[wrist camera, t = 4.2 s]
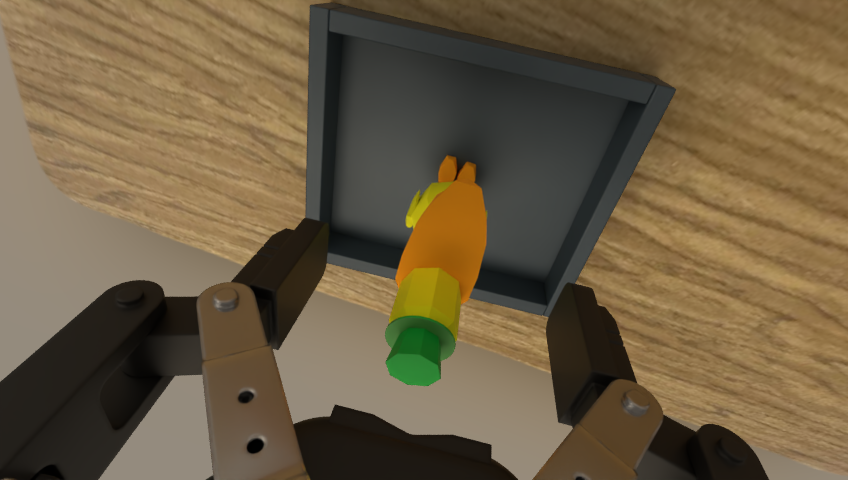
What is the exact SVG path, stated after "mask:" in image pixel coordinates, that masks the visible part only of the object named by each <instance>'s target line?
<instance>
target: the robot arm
mask: <svg viewBox="0 0 848 480" xmlns="http://www.w3.org/2000/svg"><path fill="white" fill-rule="evenodd" d="M328 236H329V225H328V223H326V222H322V221H318V220H313V219H309V218H304V219H303V220H302V221H301V223H300V224H299V225H298V226H297V228H296V229H295V230H291V229H287V228H286V229H284V230H282V231H280V232H278V233H276V234H274V235H272V236H271V238H270V239H269V240H268V241H267V242H266V243H265V244H264V247H263V246H262V248H261V249H260V250H259V251H258V252H257V255H256V254H255V255H254V256H253V258H252V259H251V260H250V261H249V262H248V263H247V264H246V265H245V267H244V268H243V269H242V270H241V271H240V272H239V273H238V275H236V277H235V278H234V279H233V280H232V281H231V282H226V283H220V284H217V285H214V286H211V287H209V288H208V289H206V290H205V291H204V292H202V293H201V294H200V295H199V296H198V297H165V295H164V291H163V289H162V288H161V286H160V285H158V284H157V283H154V282H151V281H145V280H136V281H129V282H125V283H121V284H119V285H116V286H114V287H112V288H110V289H108V290H107V291H106V292H104V293H103V294H102V295H101V296H100V297H98V298H97V299H96V300H95V301H94V302H93V303H91V304H90V305H89V306H88V307H87V308H86V309H84V310H83V311H82V312H81V313H80V314H79V315H77V317H75V318H74V319H73V320H72V321H71V322H69V323H68V324H67V325H66V326H65V327H64V328H62V329H61V330H60V331H59V332H58V333H57V334H55V335H54V336H53V337H52V338H51V339H50V340H48V341H47V342H46V343H45V344H44V345H43V346H41V347H40V348H39V349H38V350H37V351H36V352H35V353H33V354H32V355H31V356H30V357H29V358H28V359H26V361H24V362H23V363H22V364H21V365H20V366H18V367H17V368H16V369H15V370H14V371H12V372H11V373H10V374H9V375H8V376H7V377H6V378H4V379H3V380H2V381H1V382H0V480H98V479H99V478H100V476H101V475H102V474H103V472H104V471H105V470H106V468H107V467H108V466H109V464H110V463H111V462H112V460H113V459H114V458H115V456H116V455H117V453H118V452H119V451H120V449H121V448H122V447H123V445H124V444H125V443H126V441H127V440H128V439H129V437H130V436H131V435H132V433H133V432H134V430H135V429H136V428H137V426H138V425H139V424H140V422H141V421H142V420H143V418H144V417H145V416H146V414H147V413H148V411H149V410H150V409H151V407H152V406H153V405H154V403H155V402H156V401H157V399H158V398H159V397H160V395H161V394H162V393H163V391H164V390H165V389H166V387H167V386H168V384H169V383H170V382H171V380H172V379H173V378H174V376H179V375H203V384H204V393H205V403H206V412H207V421H208V430H209V440H210V449H211V459H212V467H213V476H211V477H209V478H208V479H206V480H518V479H517V478H516V477H515V476H514V475H513V474H512V473H511V472H510V471H509V470H508V469H506V468H505V467H504V466H502V465H501V464H500V463H498V462H496V461H495V460H493V459H491V445H490V444H486V443H482V442H479V441H475V440H471V439H467V438H463V437H459V436H455V435H412V434H409V433H406V432H405V431H403V430H401V429H399V428H397V427H395V426H394V425H392V424H390V423H388V422H386V421H384V420H383V419H381V418H379V417H377V416H375V415H373V414H370V413H366V412H362V411H358V410H354V409H350V408H346V407H343V406H338V405H335V406H334V408H333V411H332V414H331V416H330V417H318V418H312V419H308V420H303V421H301V422H298V423H295V424H293V422H292V419H291V415H290V411H289V407H288V404H287V400H286V397H285V393H284V389H283V385H282V382H281V378H280V374H279V371H278V367H277V363H276V360H275V356H274V352H273V349H276V350H279V348H280V346H281V345H282V343H283V341H284V340H285V338H286V336H287V335H288V333H289V331H290V330H291V328H292V326H293V325H294V323H295V321H296V320H297V318H298V316H299V315H300V313H301V311H302V310H303V308H304V306H305V305H306V303H307V301H308V299H309V298H310V296H311V295H312V293H313V291H314V290H315V288H316V286H317V285H318V283H319V281H320V280H321V278H322V276H323V274H324V271H325V268H326V264H327V253H328ZM619 334H620V332H619V329H618V327H617V324H616V321H615V319H614V318H613V317H612V315H611V314H610V313H609V312H608V310H607V309H606V308H605V307H603V306H599V305H598V304H597V301H596V297H595V294H594V291H593V289H592V288H590V287H586V286H582V285H577V284H573V283H569V282H568V283H566V284H565V286H564V288H563V289H562V291H561V293H560V295H559V297H558V299H557V301H556V303H555V305H554V307H553V309H552V311H551V313H550V315H549V318H548V321H547V326H546V336H547V344H548V351H549V358H550V366H551V373H552V380H553V387H554V395H555V402H556V409H557V417H558V422H559V423H563V424H567V425H571V426H572V427H573V429H572V431H571V432H570V433H569V434H568V436H567V437H566V438H565V439H564V441H563V442H562V443H561V444H560V446H559V447H558V448H557V449H556V451H555V452H554V453H553V454H552V456H551V457H550V458H549V459H548V461H547V462H546V463H545V464H544V466H543V467H542V468H541V469H540V471H539V472H538V473H537V475H536V476H535V477H534V478H533V480H769V479H768V477H767V475H766V473H765V471H764V469H763V467H762V465H761V463H760V461H759V459H758V457H757V455H756V454H755V453H754V451H753V450H752V449H751V448H750V446H749V445H748V444H747V443H746V442H745V441H744V440H742V439H741V438H740V437H739V436H737V435H736V434H735V433H733V432H732V431H730V430H728V429H726V428H724V427H722V426H719V425H715V424H705V425H703V426H702V427H701V428H700V429H699V430H697V431H696V432H695V431H693V430H691V429H689V428H687V427H686V426H683V425H682V424H680V423H678V422H676V421H674V420H672V419H670V418H668V417H667V416H665V415H663V411H662V408H661V406H660V404H659V403H658V401H657V400H656V399H655V397H654V396H653V395H652V394H651V393H650V392H649V391H648V390H646V389H645V388H644V387H642V386H641V385H639V384H637V381H636V378H635V375H634V372H633V370H632V367H631V364H630V361H629V358H628V355H627V352H626V350H625V347H624V346H623V341H622V338H621V336H620V335H619Z"/></svg>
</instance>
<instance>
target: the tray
mask: <svg viewBox="0 0 848 480" xmlns="http://www.w3.org/2000/svg"><path fill="white" fill-rule="evenodd" d="M675 91H676V89H675V88H674V87H672V86H670V85H669V84H667V83H665V82H664V81H662V80H660V79H659V78H657V77H655V76H650V75H646V74H642V73H637V72H633V71H629V70H624V69H620V68H615V67H611V66H607V65H602V64H598V63H594V62H589V61H585V60H580V59H576V58H572V57H567V56H563V55H559V54H554V53H550V52H545V51H541V50H537V49H532V48H528V47H524V46H519V45H515V44H511V43H506V42H502V41H497V40H493V39H489V38H484V37H480V36H476V35H471V34H467V33H462V32H458V31H454V30H449V29H445V28H441V27H436V26H432V25H427V24H423V23H419V22H414V21H410V20H406V19H401V18H397V17H392V16H388V15H384V14H379V13H375V12H371V11H366V10H362V9H357V8H353V7H349V6H344V5H340V4H336V3H323V4H314V5H310V27H309V75H308V123H307V171H306V218H309V219H313V220H318V221H322V222H326V223H328V225H329V236H328V253H327V263H329V264H333V265H337V266H341V267H345V268H349V269H353V270H357V271H361V272H365V273H369V274H373V275H378V276H382V277H386V278H390V279H394V280H395V277H396V274H397V270H398V267H399V263H400V260H401V256H402V254H403V251H404V249H405V247H406V245H407V243H408V241H409V238H410V236H411V234H412V232H413V225H412V227H410V228H408V227H407V226H406V222H405V220H406V215H407V213H408V210H409V208H410V205H411V203H412V200H413V198H414V197H415V195H416V194H417V192H418V191H419V190H420V196H421V195H422V194H423V193H424V192H425V190H426V189H427V188H428V187H429V186H430V185H431V183H438V173H439V169H440V165H441V163H442V162H443V160H444V159H445V158H446V156H447V155H449V156H453V157H456V161H457V173H456V176H455V179H454V181H455V180H457V176H458V173H459V170H460V169H461V168H462V167H463V166H464V165H465V163H466V162H467V161H468V162H471V163H474V164H476V178H475V182H474V183H475V184H477V185H478V186H479V187H480V188H482V194H483V200H484V206H485V212H486V211H487V234H486V247H485V251H484V255H483V259H482V263H481V266H480V270H479V274H478V278H477V280H476V283H475V285H474V287H473V290H472V292H471V294H470V297H469V298H472V299H476V300H480V301H484V302H488V303H492V304H496V305H500V306H504V307H508V308H512V309H516V310H521V311H525V312H529V313H533V314H537V315H541V316H542V315H543V316H546V317H549V315H550V313H551V311H552V309H553V307H554V305H555V303H556V301H557V299H558V297H559V295H560V293H561V291H562V289H563V288H564V286H565V284H566V283H568V282H569V283H573V284H575V282H576V280H577V278H578V277H579V275H580V273H581V271H582V269H583V267H584V265H585V263H586V261H587V259H588V257H589V255H590V254H591V252H592V250H593V248H594V246H595V244H596V242H597V240H598V238H599V236H600V234H601V233H602V231H603V229H604V227H605V225H606V223H607V221H608V219H609V217H610V215H611V213H612V212H613V210H614V208H615V206H616V204H617V202H618V200H619V198H620V196H621V194H622V192H623V191H624V189H625V187H626V185H627V183H628V181H629V179H630V177H631V175H632V173H633V171H634V170H635V168H636V166H637V164H638V162H639V160H640V158H641V156H642V154H643V152H644V150H645V149H646V147H647V145H648V143H649V141H650V139H651V137H652V135H653V133H654V131H655V129H656V128H657V126H658V124H659V122H660V120H661V118H662V116H663V114H664V112H665V110H666V108H667V107H668V105H669V103H670V101H671V99H672V97H673V95H674V93H675ZM454 181H453V182H454Z"/></svg>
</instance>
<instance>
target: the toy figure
mask: <svg viewBox="0 0 848 480" xmlns="http://www.w3.org/2000/svg"><path fill="white" fill-rule="evenodd" d="M456 173H457V161H456V157H453V156H449V155H447V156H446V158H445V159H444V160H443V162H442V163H441V165H440V169H439V173H438V183H431V185H430V186H429V187H428V188H427V189H426V190H425V192H424V193H423V194H422V195H421V196H420V190H419V191H418V192H417V194H416V195H415V197H414V198H413V200H412V203H411V205H410V208H409V210H408V213H407V215H406V220H405V222H406V226H407V227H408V228H410V227H412V225H413V232H412V234H411V236H410V238H409V241H408V243H407V245H406V247H405V249H404V251H403V254H402V256H401V260H400V263H399V267H398V270H397V274H396V277H395V280H396V282H397V285H398V287H399V290H398V293H397V296H396V299H395V302H394V305H393V309H392V312H391V315H390V318H389V323H390V324H389V325H388V327H387V328H386V332H385V337H386V341H387V343H388V345H389V346H390V347H391V348H392V350H391V352H390V354H389V356H388V358H387V360H386V365H387V368H388V371H389V373H390V375H391V376H393V377H395V378H397V379H398V380H400V381H402V382H404V383H405V384H407V385H420V386H429V385H430V384H432V383H434V382H436V381H437V380H439V379H441V361H442V360H444V359H447V358H448V357H449V356H451V355H452V353H453V352H454V349H455V345H456V344H455V342H456V341H457V334H458V325H459V315H460V306H461V304H463V303H464V302H466V301H468V299H469V297H470V294H471V292H472V290H473V287H474V285H475V283H476V280H477V278H478V274H479V270H480V266H481V263H482V259H483V255H484V251H485V247H486V234H487V211H486V212H485V206H484V200H483V194H482V188H480V187H479V186H478V185H477V184H475V183H474V182H475V178H476V164H474V163H471V162H468V161H467V162H466V163H465V165H464V166H463V167H462V168H461V169H460V170H459V173H458V176H457V180H455V181H454V179H455V176H456ZM453 181H454V182H453Z"/></svg>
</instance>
